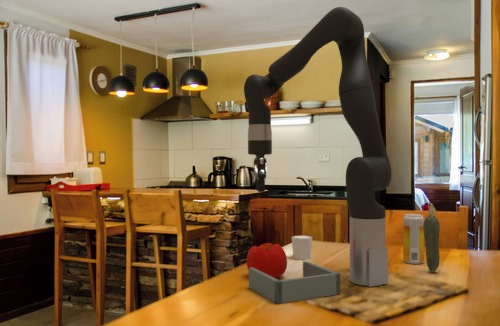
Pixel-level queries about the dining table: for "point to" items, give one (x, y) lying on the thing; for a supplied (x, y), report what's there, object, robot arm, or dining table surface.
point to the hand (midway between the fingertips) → (260, 191)
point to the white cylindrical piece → (302, 247)
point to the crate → (296, 284)
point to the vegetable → (432, 239)
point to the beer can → (413, 238)
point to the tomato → (267, 259)
